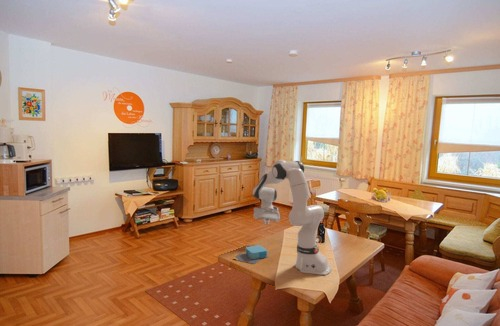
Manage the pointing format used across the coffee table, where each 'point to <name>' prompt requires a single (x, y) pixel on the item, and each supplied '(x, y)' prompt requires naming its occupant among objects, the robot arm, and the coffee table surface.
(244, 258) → the mat
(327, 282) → the coffee table surface
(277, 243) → the coffee table surface
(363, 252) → the coffee table surface
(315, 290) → the coffee table surface
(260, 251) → the data package
